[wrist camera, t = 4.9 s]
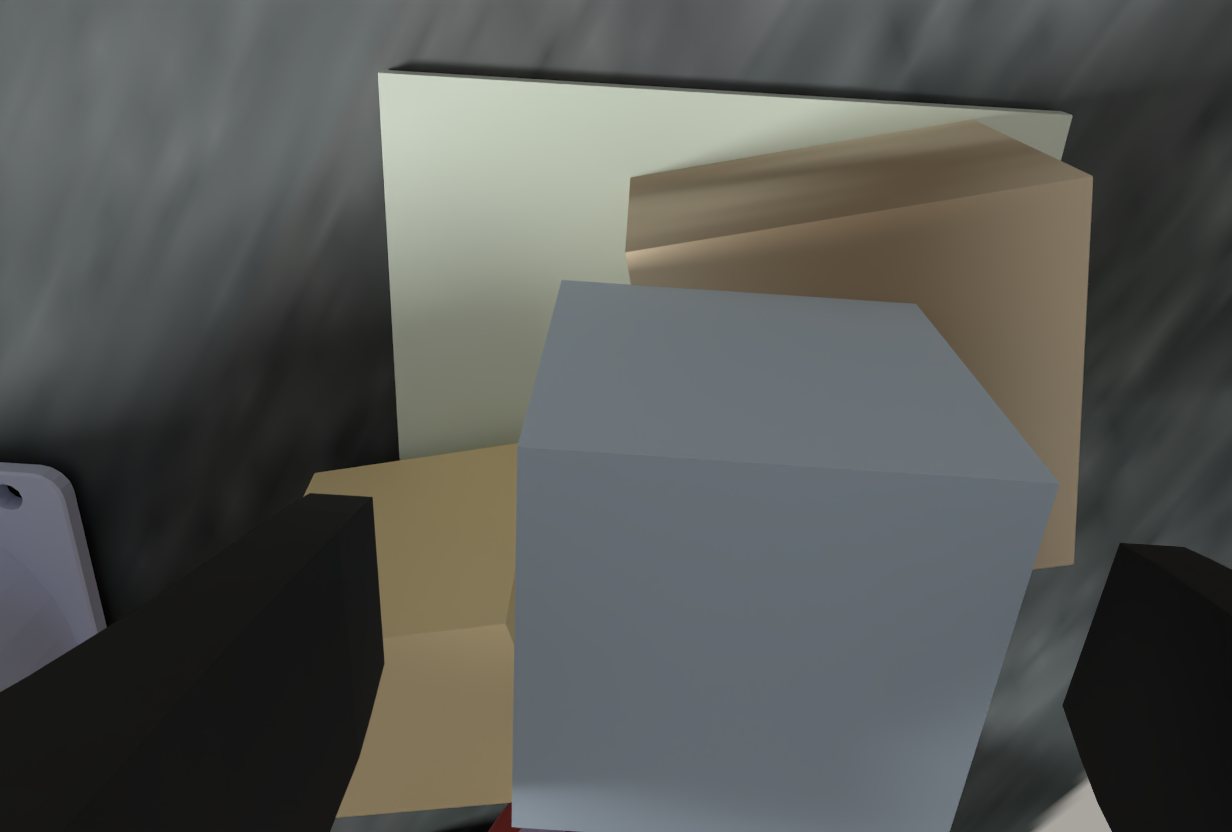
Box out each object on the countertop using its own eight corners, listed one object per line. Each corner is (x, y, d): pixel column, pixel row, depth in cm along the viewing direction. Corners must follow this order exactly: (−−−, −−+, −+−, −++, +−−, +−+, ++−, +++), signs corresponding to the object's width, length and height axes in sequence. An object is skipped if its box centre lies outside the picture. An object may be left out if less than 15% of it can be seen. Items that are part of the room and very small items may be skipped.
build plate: (408, 526, 17) (403, 539, 17) (385, 69, 14) (378, 72, 13) (946, 560, 17) (952, 572, 17) (1060, 110, 14) (1072, 115, 13)
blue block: (551, 571, 12) (512, 826, 9) (561, 279, 10) (516, 445, 7) (854, 592, 12) (942, 855, 9) (916, 304, 10) (1058, 482, 7)
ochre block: (393, 628, 18) (336, 817, 15) (314, 473, 16) (226, 656, 13) (590, 604, 18) (575, 796, 14) (537, 440, 15) (504, 623, 12)
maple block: (677, 465, 16) (688, 611, 12) (630, 177, 14) (625, 252, 10) (974, 424, 15) (1073, 564, 12) (972, 119, 13) (1092, 176, 10)
